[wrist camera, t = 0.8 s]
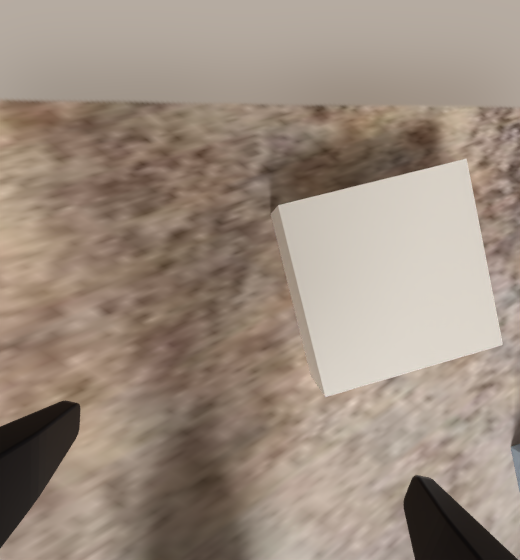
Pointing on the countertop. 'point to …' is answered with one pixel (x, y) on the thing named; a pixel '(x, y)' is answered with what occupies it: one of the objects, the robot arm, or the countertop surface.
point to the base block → (388, 276)
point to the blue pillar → (516, 461)
